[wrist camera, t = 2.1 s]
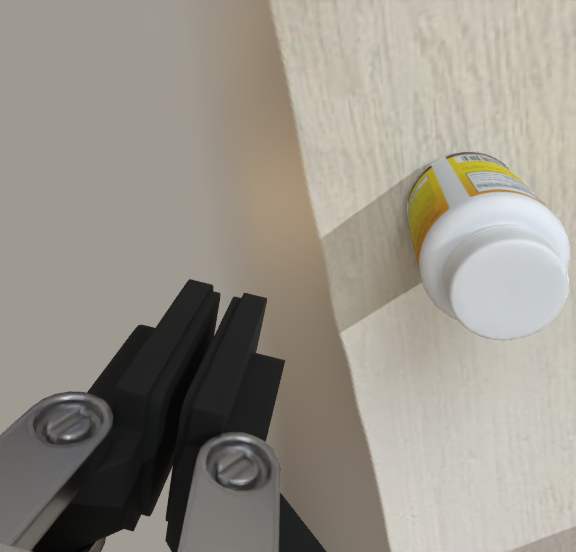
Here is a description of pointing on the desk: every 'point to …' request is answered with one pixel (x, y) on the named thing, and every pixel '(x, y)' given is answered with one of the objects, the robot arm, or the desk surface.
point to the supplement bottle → (487, 247)
